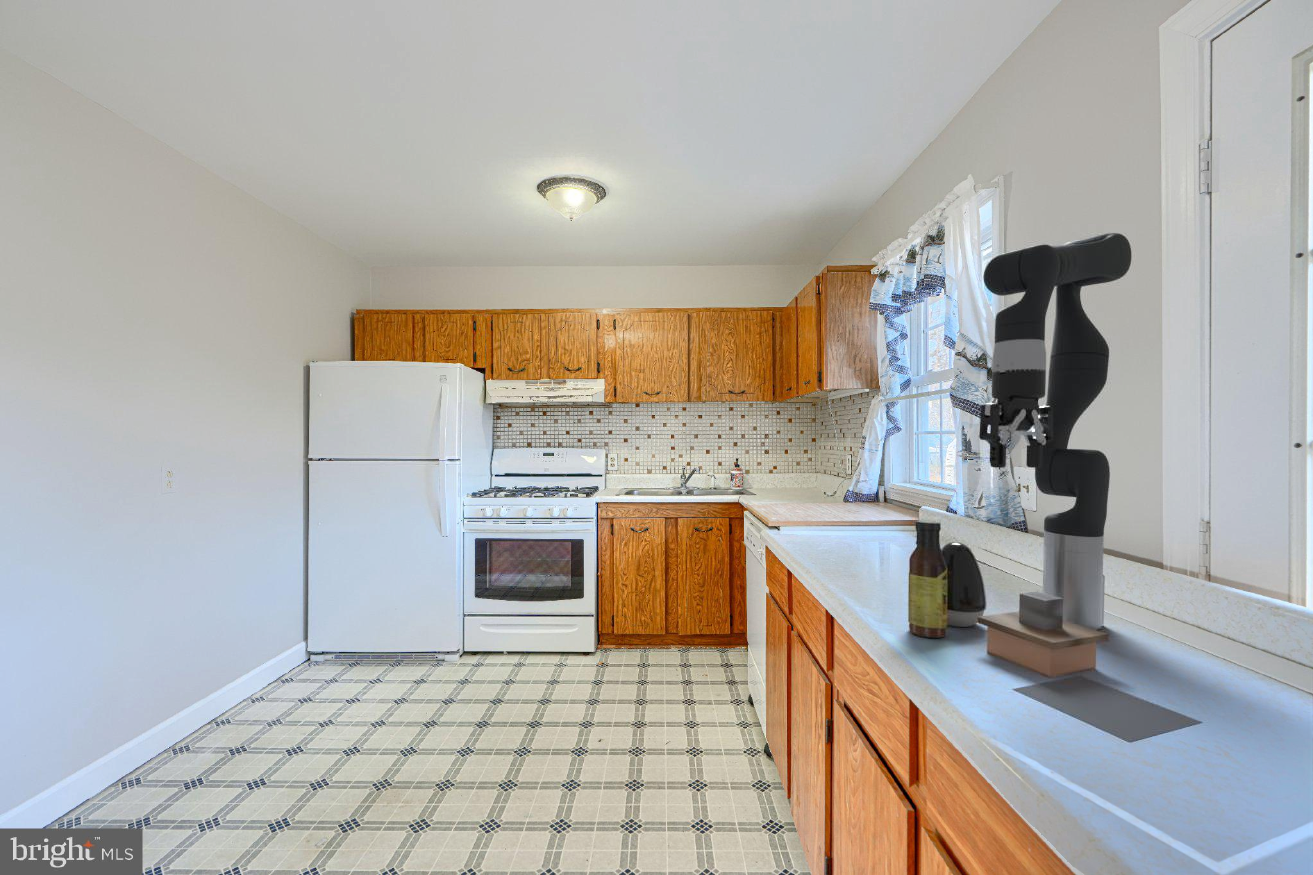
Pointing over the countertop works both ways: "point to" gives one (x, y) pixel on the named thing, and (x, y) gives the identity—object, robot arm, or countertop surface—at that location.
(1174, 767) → the countertop surface
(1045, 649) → the terracotta storage tray
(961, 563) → the black egg-shaped device
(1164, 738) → the countertop surface
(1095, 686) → the mat
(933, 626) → the sauce bottle
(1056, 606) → the lid
